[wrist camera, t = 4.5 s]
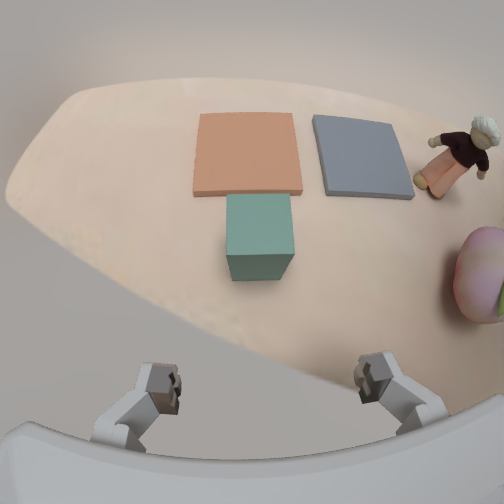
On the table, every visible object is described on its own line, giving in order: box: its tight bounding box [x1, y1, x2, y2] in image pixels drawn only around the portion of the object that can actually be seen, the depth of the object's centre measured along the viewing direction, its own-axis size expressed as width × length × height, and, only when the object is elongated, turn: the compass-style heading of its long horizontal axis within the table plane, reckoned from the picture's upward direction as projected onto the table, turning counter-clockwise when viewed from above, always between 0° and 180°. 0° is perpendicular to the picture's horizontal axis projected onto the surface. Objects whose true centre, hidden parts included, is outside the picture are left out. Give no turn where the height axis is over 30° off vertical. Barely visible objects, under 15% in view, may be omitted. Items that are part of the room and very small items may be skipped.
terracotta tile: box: [193, 112, 303, 197], centre depth 27 cm, size 10×10×1 cm
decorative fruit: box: [453, 227, 504, 324], centre depth 19 cm, size 9×8×10 cm
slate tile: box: [312, 115, 415, 200], centre depth 27 cm, size 10×10×1 cm
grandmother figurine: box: [414, 114, 501, 199], centre depth 21 cm, size 8×4×13 cm, turn 76°
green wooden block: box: [226, 194, 295, 281], centre depth 21 cm, size 4×4×8 cm
